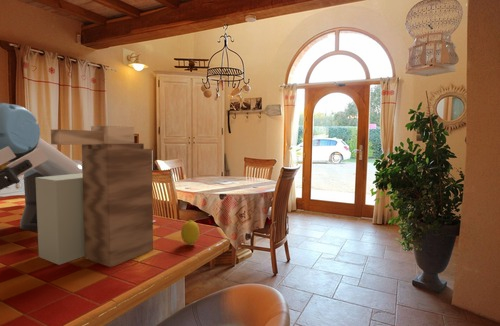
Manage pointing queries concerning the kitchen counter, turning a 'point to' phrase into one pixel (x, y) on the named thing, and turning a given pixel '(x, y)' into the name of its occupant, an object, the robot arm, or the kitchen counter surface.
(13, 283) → the kitchen counter surface
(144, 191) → the walnut stand
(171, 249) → the kitchen counter surface
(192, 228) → the lemon
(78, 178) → the sage block
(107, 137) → the mallet
